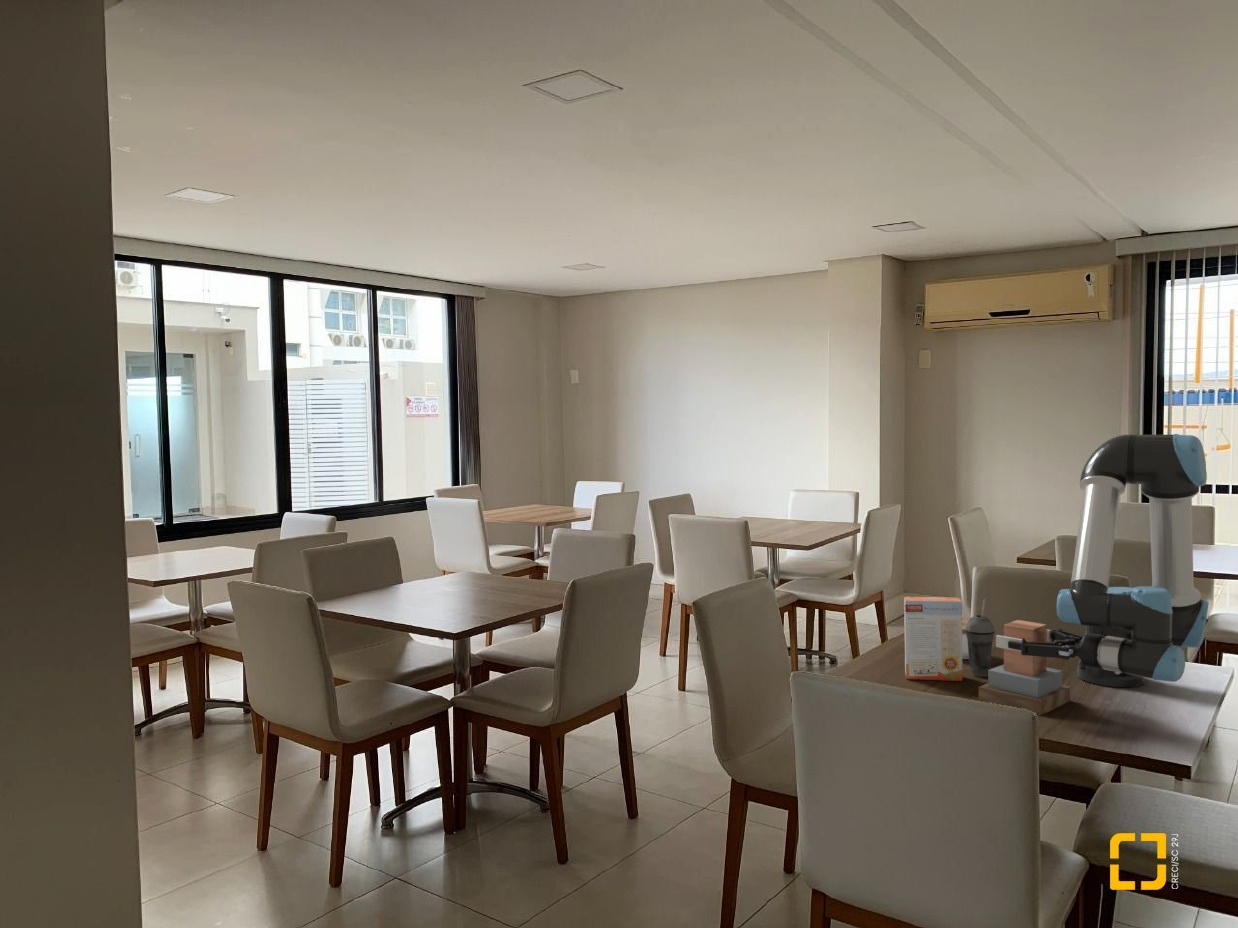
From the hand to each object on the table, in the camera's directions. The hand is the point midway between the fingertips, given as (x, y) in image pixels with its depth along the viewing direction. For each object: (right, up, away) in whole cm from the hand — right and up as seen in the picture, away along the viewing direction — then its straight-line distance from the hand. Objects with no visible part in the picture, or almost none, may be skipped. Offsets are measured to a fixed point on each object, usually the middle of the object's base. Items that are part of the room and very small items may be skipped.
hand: (1010, 635), depth 222 cm
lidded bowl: (+2, -13, +39) cm, 41 cm away
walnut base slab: (+3, -16, -2) cm, 16 cm away
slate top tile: (+3, -12, -2) cm, 12 cm away
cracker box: (-12, -15, +18) cm, 26 cm away
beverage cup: (+1, -14, +20) cm, 25 cm away
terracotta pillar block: (+3, -8, -2) cm, 8 cm away
